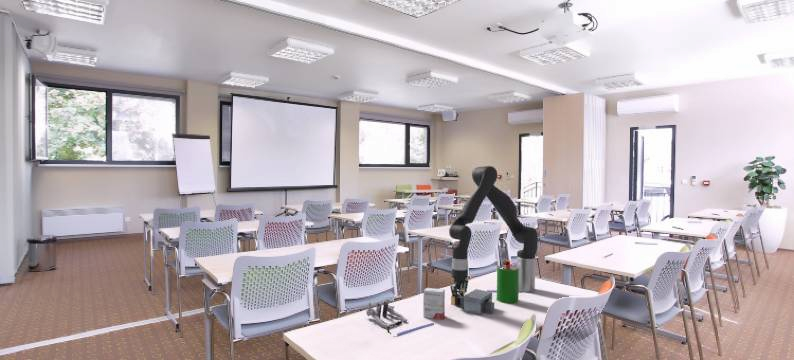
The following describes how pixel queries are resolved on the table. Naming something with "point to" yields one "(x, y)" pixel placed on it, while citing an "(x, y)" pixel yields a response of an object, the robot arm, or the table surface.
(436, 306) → the ink box
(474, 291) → the housing
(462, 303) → the plug rod
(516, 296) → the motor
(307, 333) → the table surface
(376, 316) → the bike brake
